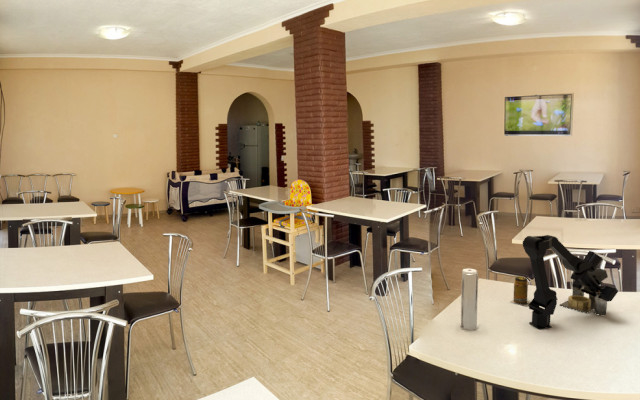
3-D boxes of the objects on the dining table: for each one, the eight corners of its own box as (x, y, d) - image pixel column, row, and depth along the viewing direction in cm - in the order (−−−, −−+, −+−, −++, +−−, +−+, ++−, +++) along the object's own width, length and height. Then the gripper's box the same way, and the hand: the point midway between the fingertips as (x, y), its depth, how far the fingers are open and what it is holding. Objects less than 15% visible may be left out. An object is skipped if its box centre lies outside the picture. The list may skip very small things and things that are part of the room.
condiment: (517, 298, 229) (518, 274, 227) (534, 303, 222) (535, 278, 221) (509, 302, 224) (510, 278, 223) (526, 306, 218) (527, 282, 216)
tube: (600, 316, 205) (601, 291, 203) (591, 312, 210) (593, 287, 208) (608, 314, 206) (610, 289, 204) (600, 310, 211) (601, 286, 209)
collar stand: (586, 313, 208) (587, 292, 207) (559, 305, 218) (560, 285, 217) (601, 305, 217) (602, 285, 216) (575, 298, 227) (576, 279, 225)
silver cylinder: (477, 330, 194) (479, 272, 190) (461, 329, 195) (462, 272, 191) (475, 324, 200) (477, 267, 196) (460, 323, 201) (461, 267, 198)
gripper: (616, 269, 194) (633, 291, 200) (578, 258, 212) (595, 278, 217) (601, 290, 193) (618, 311, 198) (564, 277, 210) (581, 297, 216)
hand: (603, 298), depth 207 cm, fingers closed on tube, 5 cm apart
